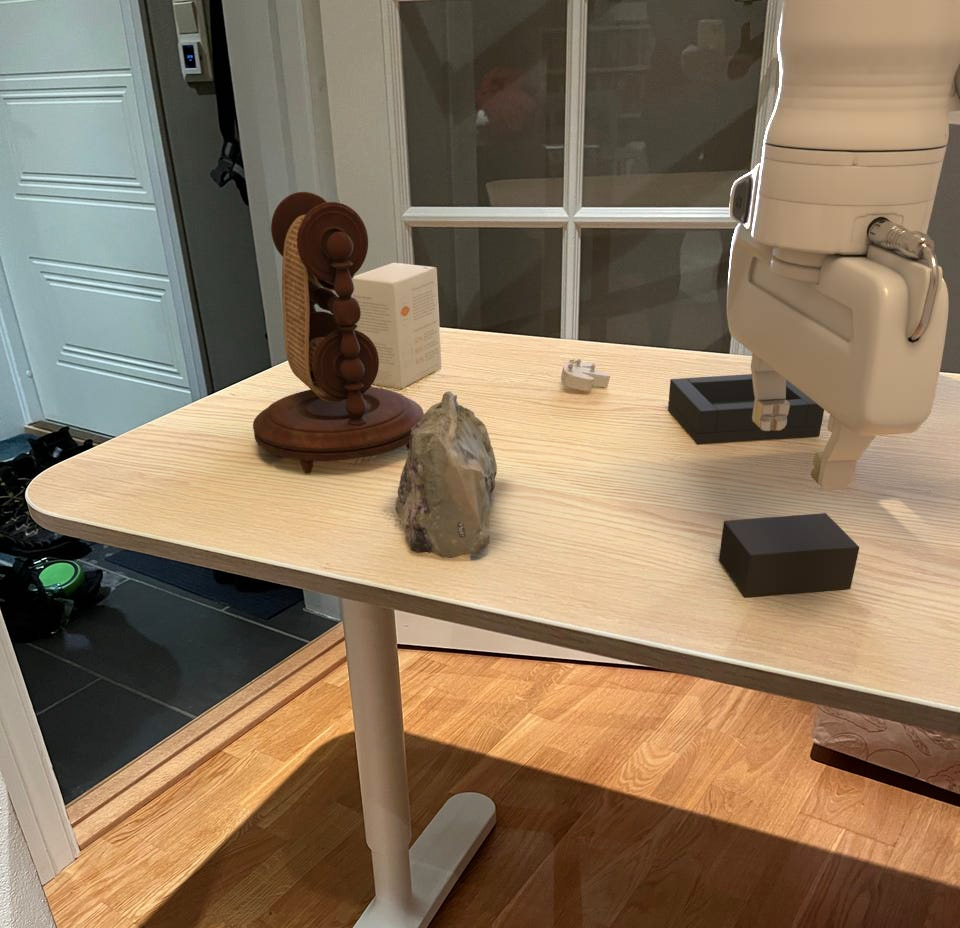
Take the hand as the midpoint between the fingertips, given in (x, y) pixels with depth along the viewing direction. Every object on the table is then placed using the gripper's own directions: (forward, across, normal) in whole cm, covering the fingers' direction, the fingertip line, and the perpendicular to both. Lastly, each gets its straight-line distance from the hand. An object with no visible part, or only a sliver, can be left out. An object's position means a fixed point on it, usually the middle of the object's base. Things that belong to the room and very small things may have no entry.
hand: (796, 454), depth 57 cm
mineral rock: (+9, +11, +20) cm, 24 cm away
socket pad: (+8, +27, -7) cm, 30 cm away
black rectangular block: (+8, 0, 0) cm, 8 cm away
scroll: (+9, +28, +29) cm, 41 cm away
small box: (+9, +47, +23) cm, 53 cm away
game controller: (+8, +41, +8) cm, 43 cm away
